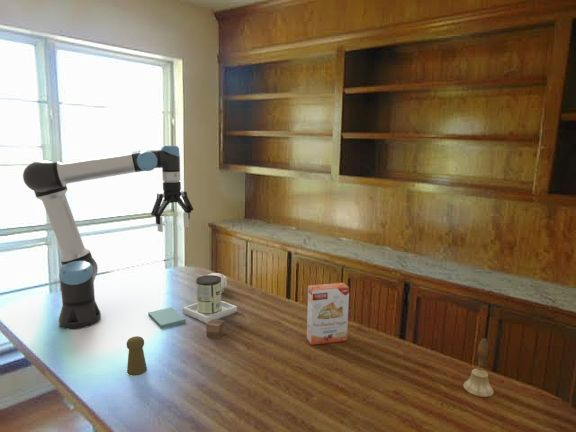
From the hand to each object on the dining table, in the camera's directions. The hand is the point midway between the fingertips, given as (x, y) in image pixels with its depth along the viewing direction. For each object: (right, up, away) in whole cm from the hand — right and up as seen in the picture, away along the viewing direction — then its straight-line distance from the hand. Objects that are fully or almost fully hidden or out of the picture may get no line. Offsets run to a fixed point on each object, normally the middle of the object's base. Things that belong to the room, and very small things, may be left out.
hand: (173, 229), depth 192 cm
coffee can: (+18, -34, -10) cm, 40 cm away
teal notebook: (+2, -37, -16) cm, 40 cm away
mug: (+16, -31, +15) cm, 38 cm away
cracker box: (+65, -40, -34) cm, 84 cm away
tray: (+18, -35, -10) cm, 41 cm away
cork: (+3, -43, -55) cm, 70 cm away
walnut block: (+24, -39, -30) cm, 55 cm away
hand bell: (+107, -46, -64) cm, 133 cm away
